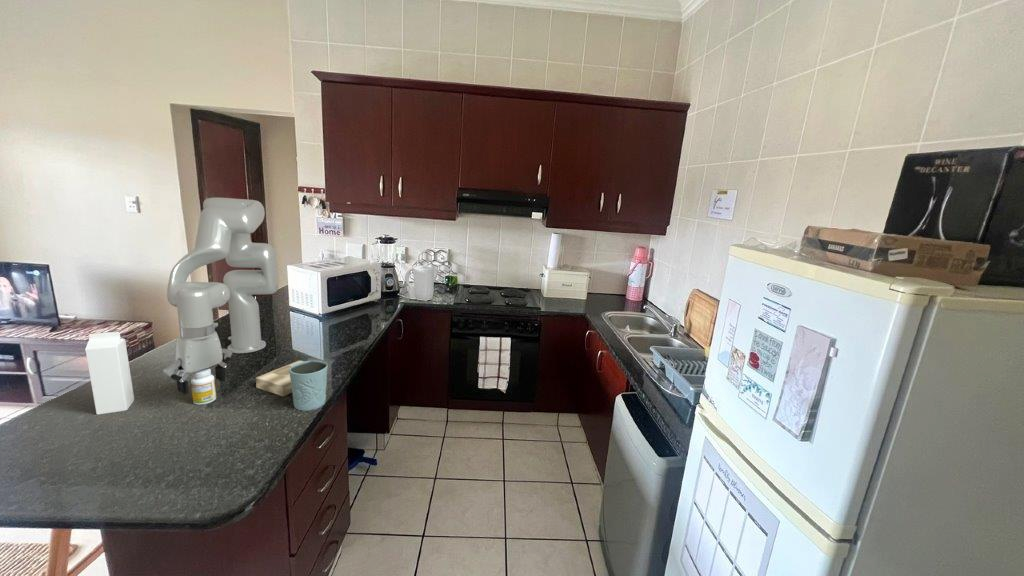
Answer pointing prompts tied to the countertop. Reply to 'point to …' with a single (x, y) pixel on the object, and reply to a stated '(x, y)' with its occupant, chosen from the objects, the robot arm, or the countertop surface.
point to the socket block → (276, 380)
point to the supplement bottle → (203, 387)
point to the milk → (109, 372)
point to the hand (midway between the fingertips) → (203, 386)
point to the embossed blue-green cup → (308, 384)
